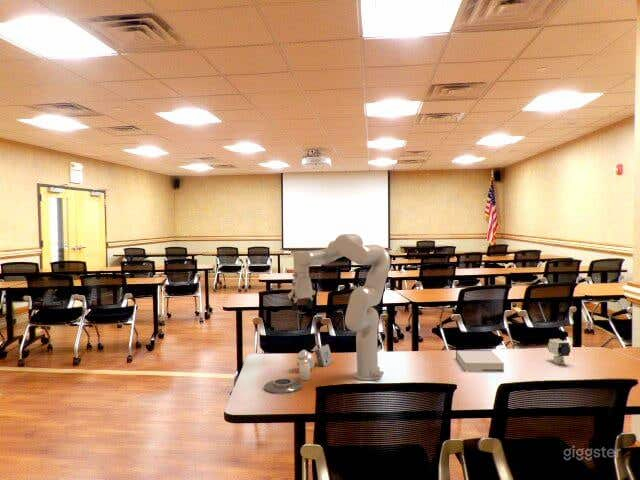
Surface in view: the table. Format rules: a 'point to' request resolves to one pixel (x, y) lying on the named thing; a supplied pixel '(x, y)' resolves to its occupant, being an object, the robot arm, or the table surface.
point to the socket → (283, 386)
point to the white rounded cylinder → (304, 371)
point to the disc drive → (479, 361)
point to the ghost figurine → (306, 358)
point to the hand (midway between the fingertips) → (302, 309)
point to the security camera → (558, 349)
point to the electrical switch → (324, 356)
